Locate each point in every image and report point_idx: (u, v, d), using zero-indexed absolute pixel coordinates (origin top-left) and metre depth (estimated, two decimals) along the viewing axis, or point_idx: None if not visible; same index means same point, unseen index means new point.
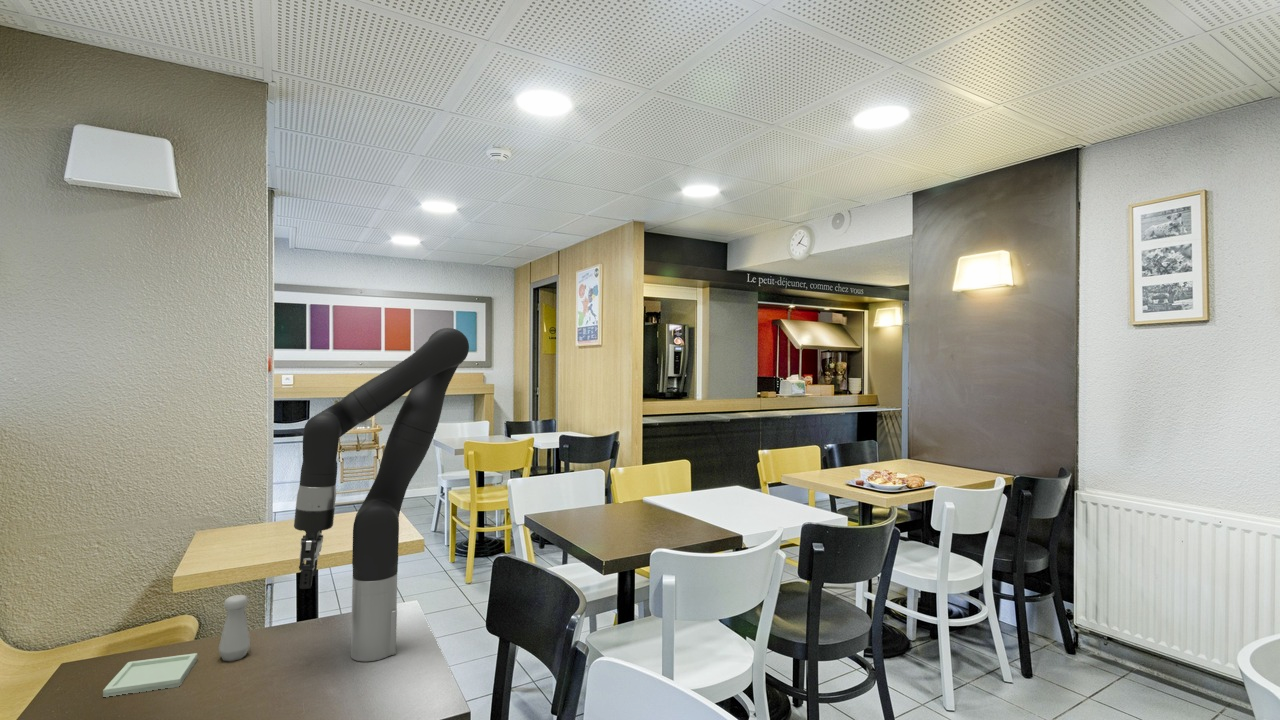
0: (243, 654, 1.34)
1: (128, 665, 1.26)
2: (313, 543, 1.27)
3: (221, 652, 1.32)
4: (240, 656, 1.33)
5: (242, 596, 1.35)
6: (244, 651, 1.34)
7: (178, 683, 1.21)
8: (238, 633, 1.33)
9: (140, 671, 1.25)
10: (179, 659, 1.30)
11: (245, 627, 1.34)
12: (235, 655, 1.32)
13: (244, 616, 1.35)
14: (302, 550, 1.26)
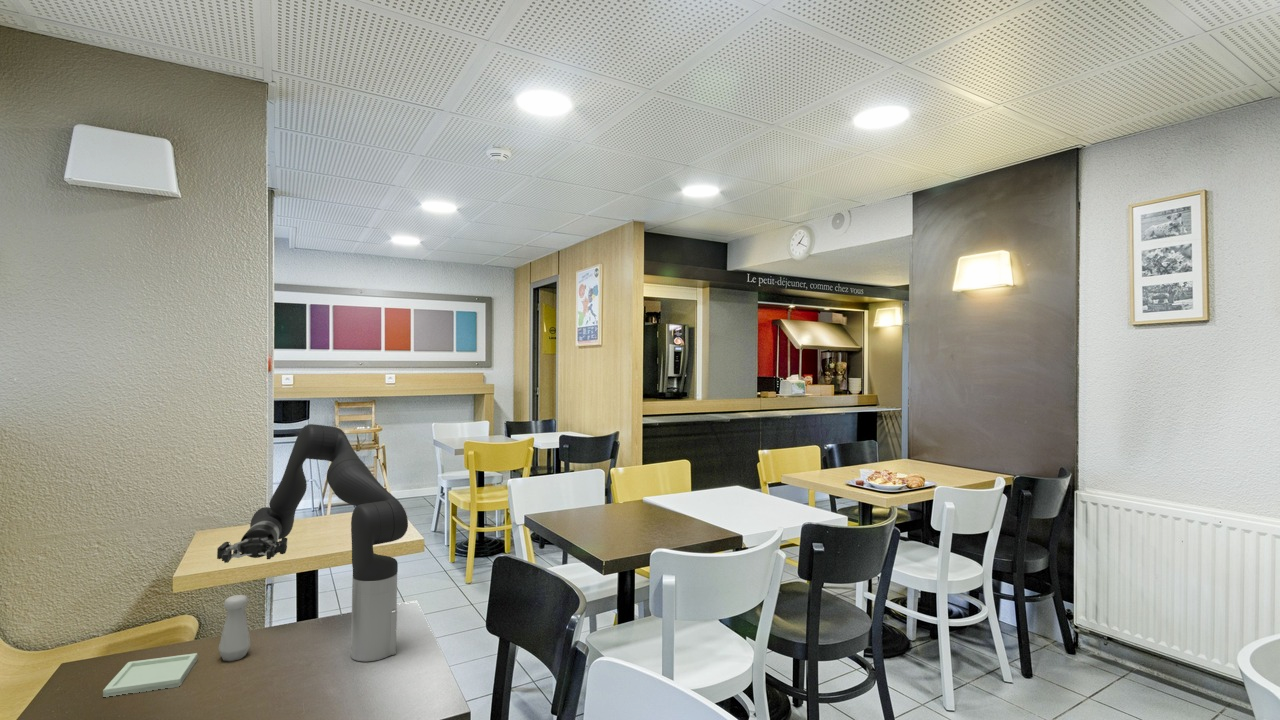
0: (243, 654, 1.34)
1: (128, 665, 1.26)
2: None
3: (221, 652, 1.32)
4: (240, 656, 1.33)
5: (242, 596, 1.35)
6: (244, 651, 1.34)
7: (178, 683, 1.21)
8: (238, 633, 1.33)
9: (140, 671, 1.25)
10: (179, 659, 1.30)
11: (245, 627, 1.34)
12: (235, 655, 1.32)
13: (244, 616, 1.35)
14: None
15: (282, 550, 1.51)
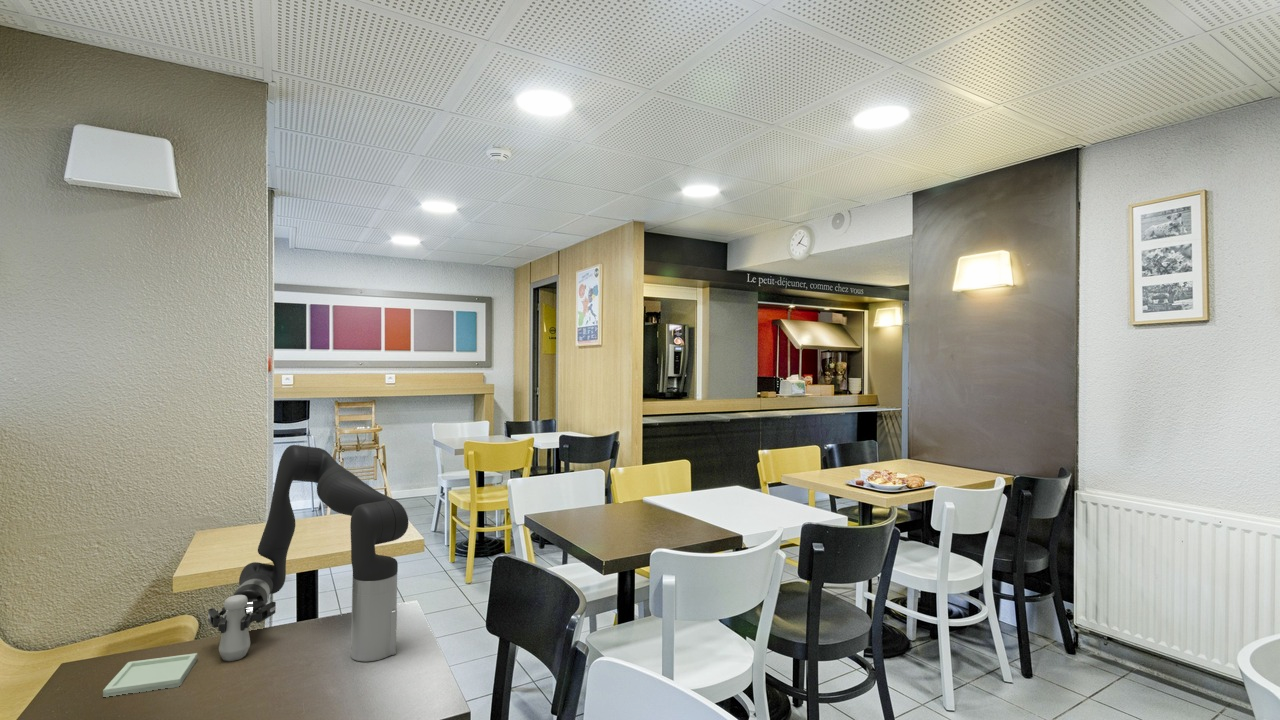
0: (243, 654, 1.34)
1: (128, 665, 1.26)
2: (208, 611, 1.38)
3: (221, 652, 1.32)
4: (240, 656, 1.33)
5: (242, 596, 1.35)
6: (244, 651, 1.34)
7: (178, 683, 1.21)
8: (239, 633, 1.33)
9: (140, 671, 1.25)
10: (179, 659, 1.30)
11: None
12: (235, 655, 1.32)
13: None
14: (209, 621, 1.37)
15: (257, 618, 1.37)
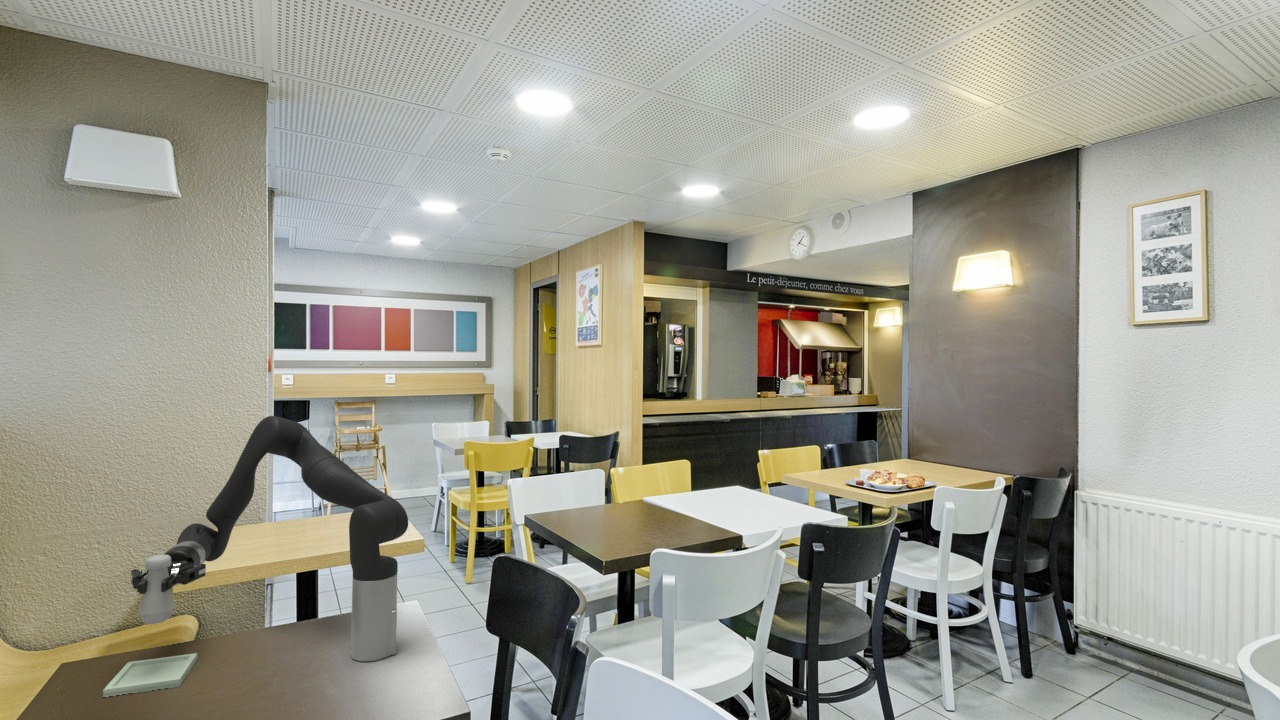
0: (165, 617, 1.25)
1: (128, 665, 1.26)
2: (131, 572, 1.29)
3: (140, 614, 1.23)
4: (162, 619, 1.24)
5: (165, 556, 1.26)
6: (166, 614, 1.25)
7: (178, 683, 1.21)
8: (160, 594, 1.24)
9: (140, 671, 1.25)
10: (179, 659, 1.30)
11: (168, 589, 1.26)
12: (156, 618, 1.24)
13: None
14: (131, 583, 1.28)
15: (182, 580, 1.28)
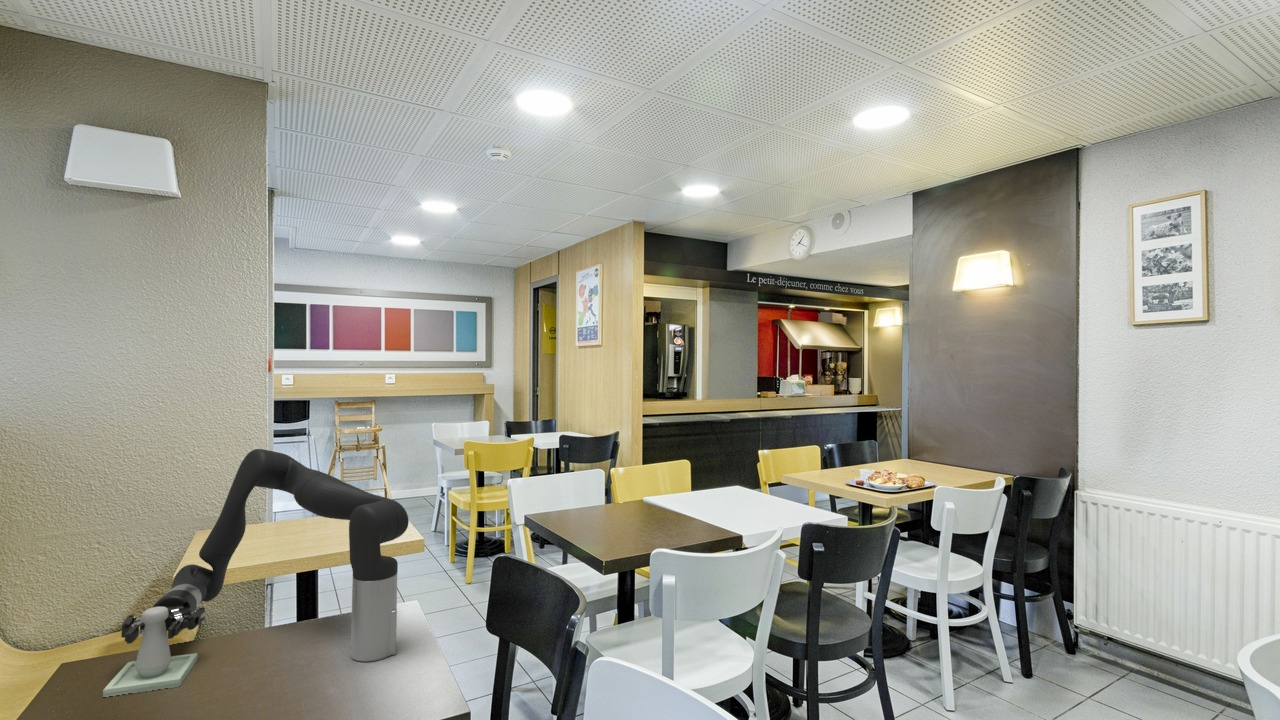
0: (162, 670, 1.24)
1: (128, 665, 1.26)
2: None
3: (137, 668, 1.22)
4: (158, 673, 1.24)
5: (162, 608, 1.25)
6: (163, 667, 1.24)
7: (178, 683, 1.21)
8: (157, 648, 1.23)
9: None
10: (179, 659, 1.30)
11: (165, 641, 1.25)
12: (152, 672, 1.23)
13: (164, 630, 1.25)
14: None
15: (189, 625, 1.29)
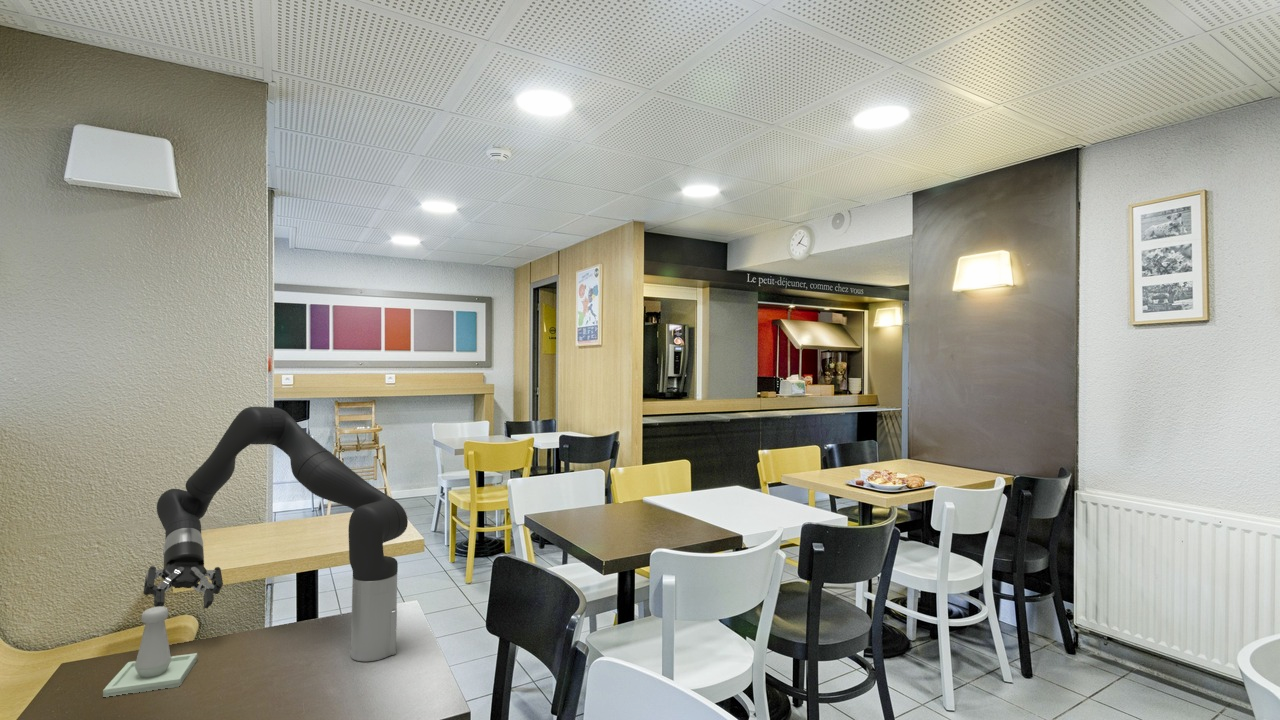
0: (162, 670, 1.24)
1: (128, 665, 1.26)
2: (149, 569, 1.36)
3: (137, 669, 1.22)
4: (158, 673, 1.24)
5: (162, 608, 1.25)
6: (163, 667, 1.24)
7: (178, 683, 1.21)
8: (157, 648, 1.23)
9: None
10: (179, 659, 1.30)
11: (165, 641, 1.25)
12: (152, 672, 1.23)
13: (164, 629, 1.25)
14: (145, 580, 1.35)
15: (217, 591, 1.42)
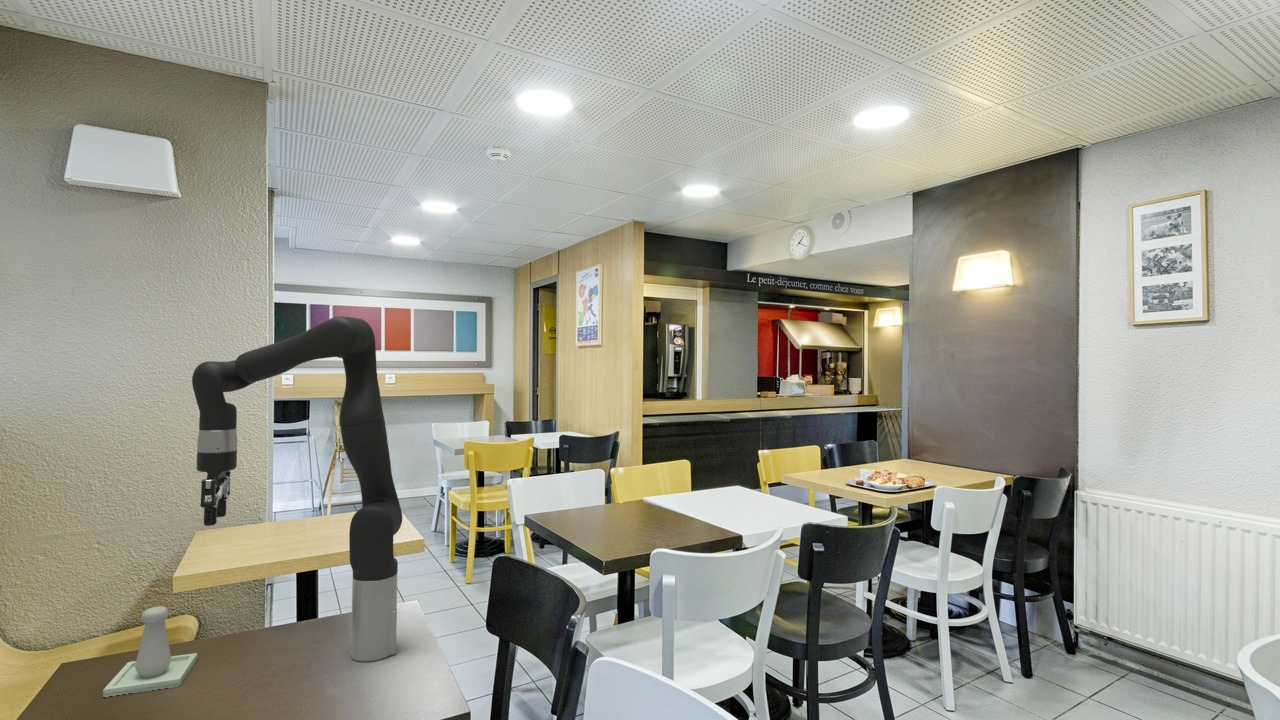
0: (162, 670, 1.24)
1: (128, 665, 1.26)
2: (213, 481, 1.34)
3: (137, 669, 1.22)
4: (158, 673, 1.24)
5: (162, 608, 1.25)
6: (163, 667, 1.24)
7: (178, 683, 1.21)
8: (157, 648, 1.23)
9: None
10: (179, 659, 1.30)
11: (165, 641, 1.25)
12: (152, 672, 1.23)
13: (164, 629, 1.25)
14: (202, 488, 1.33)
15: None
